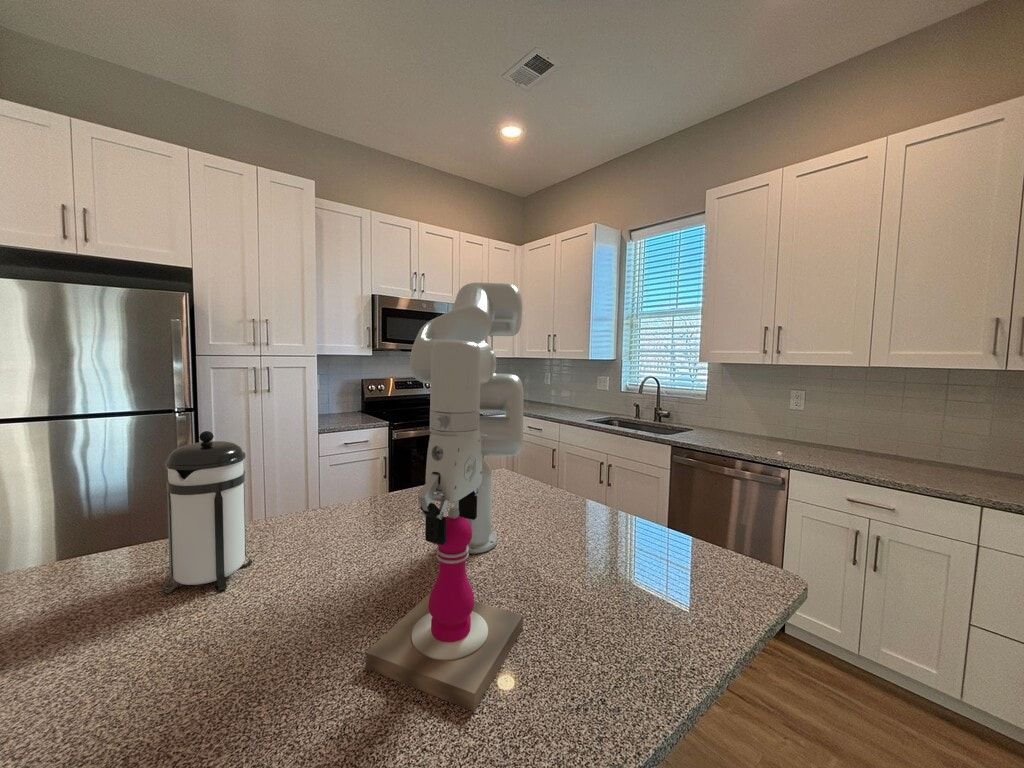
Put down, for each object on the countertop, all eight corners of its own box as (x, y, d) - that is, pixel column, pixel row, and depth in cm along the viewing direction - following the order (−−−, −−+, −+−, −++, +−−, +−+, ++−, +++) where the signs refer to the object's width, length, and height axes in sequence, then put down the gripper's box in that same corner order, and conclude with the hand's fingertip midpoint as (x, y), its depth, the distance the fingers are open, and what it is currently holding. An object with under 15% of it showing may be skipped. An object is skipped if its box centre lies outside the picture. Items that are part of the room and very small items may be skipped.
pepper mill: (442, 611, 71) (444, 496, 69) (480, 621, 68) (484, 503, 67) (419, 637, 64) (421, 512, 63) (461, 650, 62) (464, 519, 60)
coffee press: (269, 576, 85) (267, 431, 83) (168, 610, 73) (163, 442, 71) (244, 547, 97) (242, 420, 94) (154, 572, 85) (149, 428, 83)
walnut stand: (365, 668, 61) (365, 650, 61) (433, 602, 78) (433, 588, 78) (474, 711, 55) (474, 691, 54) (522, 629, 71) (523, 613, 71)
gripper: (446, 434, 54) (444, 559, 56) (500, 415, 70) (497, 514, 72) (399, 428, 57) (398, 548, 58) (461, 412, 73) (459, 506, 74)
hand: (452, 529), depth 65 cm, fingers open, 9 cm apart
